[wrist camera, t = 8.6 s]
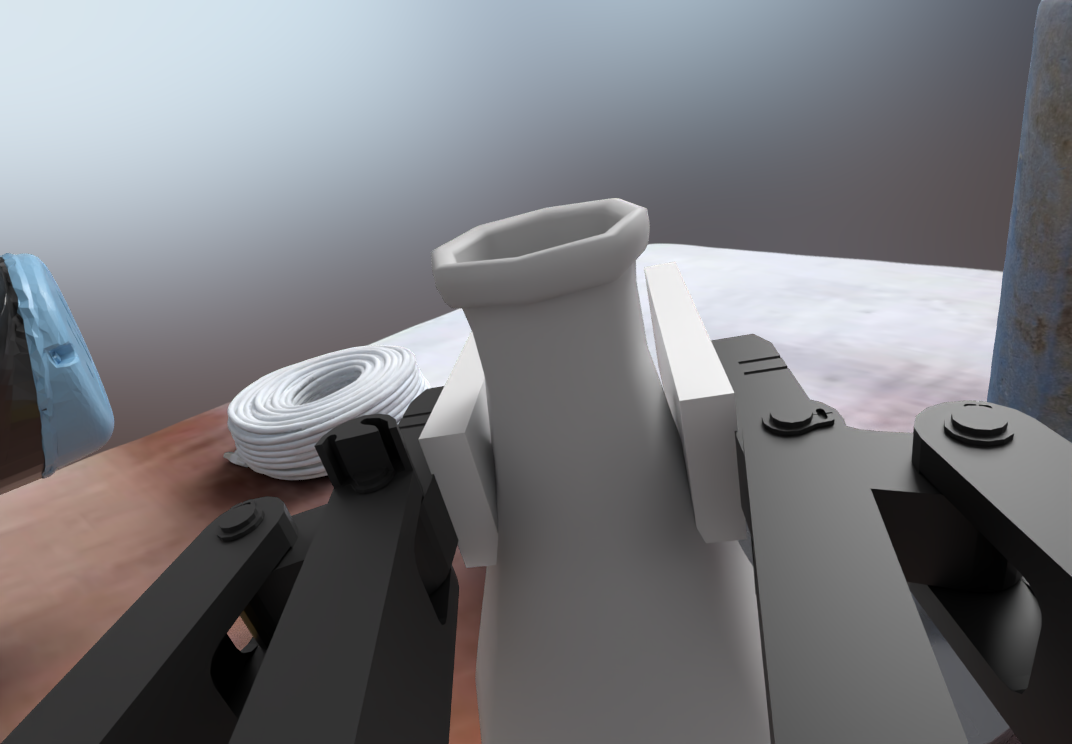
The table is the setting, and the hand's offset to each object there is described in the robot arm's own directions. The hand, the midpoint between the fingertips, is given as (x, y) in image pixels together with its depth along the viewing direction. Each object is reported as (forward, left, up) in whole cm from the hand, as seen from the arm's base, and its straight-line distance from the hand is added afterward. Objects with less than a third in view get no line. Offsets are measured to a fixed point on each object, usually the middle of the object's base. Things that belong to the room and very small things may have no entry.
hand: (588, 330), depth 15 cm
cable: (-26, +31, -18) cm, 44 cm away
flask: (0, -6, -6) cm, 8 cm away
